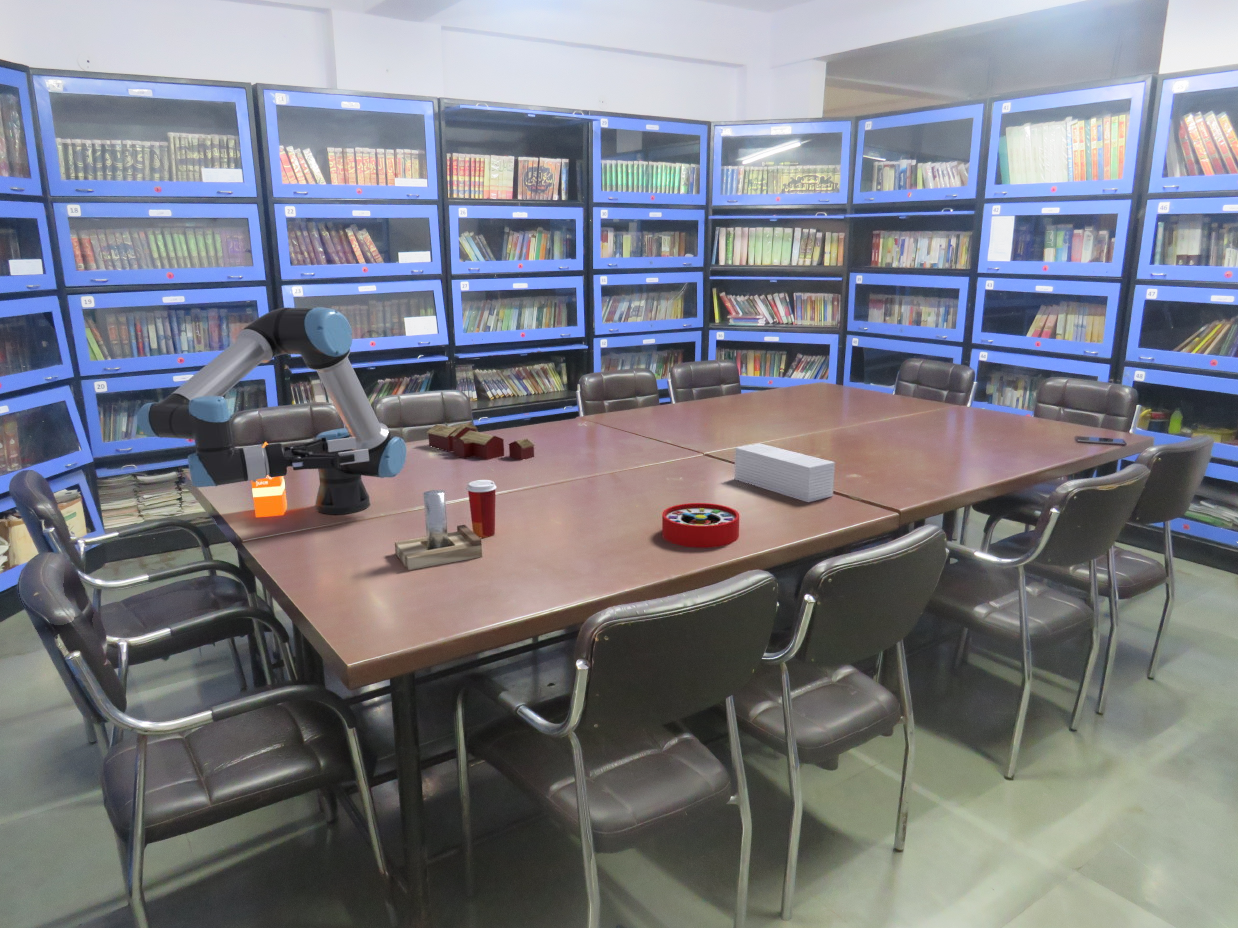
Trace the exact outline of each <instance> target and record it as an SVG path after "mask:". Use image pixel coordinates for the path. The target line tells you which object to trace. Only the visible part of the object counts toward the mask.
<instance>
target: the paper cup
mask: <svg viewBox="0 0 1238 928" xmlns="http://www.w3.org/2000/svg"><path fill="white" fill-rule="evenodd" d="M496 489H497V485H496V484H495V482H494V480H489V479H479V480H473V481H470V482H469V483H468V484H467V486H466V490H467V492H468V501H469V509H470V517H471V523H472V524H471V525H472V532H474V533H475V534H476V535H477V536H478V537H479V538H480V539H482V538H490V537H493V536H494V535H495V533H496V532H495V531H496Z"/></svg>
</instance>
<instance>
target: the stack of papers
mask: <svg viewBox="0 0 1238 928" xmlns="http://www.w3.org/2000/svg"><path fill="white" fill-rule="evenodd" d="M835 465H836V462H835V461H831V460H828V459H823V458H818V457H815V456H811V455H807V454H804V453H799V452H795V451H791V450H788V449H783V448H780V447H775V446H773V445H767V444H764V443H760V442H759V443H755V444H749V445H748V444H747V445H743V446H737V447H735V448H734V476H733V477H734V480H736V481H738V480H739V482H741V483H746V484H748V483H749V484H748V485H751V484H752V486H754V485H755V487H758V488H761V489H765V490H768V491H771V492H774V493H777V494H780V495H784V496H787V497H790V498H792V499H793V498H794V499H796V500H800V501H803V502H806V503H810V502H815V501H819V500H823V499H826V498H830V497H833V496H834V483H835V482H834V481H835Z"/></svg>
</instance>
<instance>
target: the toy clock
mask: <svg viewBox="0 0 1238 928" xmlns="http://www.w3.org/2000/svg"><path fill="white" fill-rule="evenodd" d="M661 513H662V514H661V515H662V516H661V518H662V519H661V521H662V523H661V524H662V525H661V526H662V527H661V529H662V530H661V533H662V534H661V536H662V538H663V539H664V540H665V541H667V542H669V543H671V544H674V545H677V546H682V547H688V548H702V549H703V548H704V549H705V548H709V549H710V548H718V547H722V546H723V547H724V546H727V545H731V544H733V543H735V542H737V540H739V537H740V513H739V512H738V511H737V510H736V509H734V508H732V507H730V506H726V505H722V504H716V503H708V502H707V503H706V502H689V503H682V504H676V505H673V506H670V507H666V508H665V509H664V510H663V511H662V512H661Z"/></svg>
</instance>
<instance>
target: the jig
mask: <svg viewBox="0 0 1238 928" xmlns="http://www.w3.org/2000/svg"><path fill="white" fill-rule="evenodd" d="M456 530H457V531H453V532H452V531H451V532H447V534H448V547H444V548H438V549H433V550H428V548H427V536H423V537H417V538H412V539H410V538H409V539H404V540H399V541H394V549H395V552H394V553H395V555H396V556H397V558H399V560H400V562H402V563H403V564H404V566H405V567H406V569H407V570H408V571H414V570H416V569H417V570H419V569H422V568H429V567H434V566H440V565H445V564H450V563H455V562H460V561H467V560H472V559H477V558H482V557H483V549H482V545H483V544H482V543H483V542H482V538H480V537H478V536H477V535H476V534H475V533H474V532H473V530H471V529H470V528H469V527H468V526H467V525H466V524H461V525H457V526H456Z"/></svg>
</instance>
